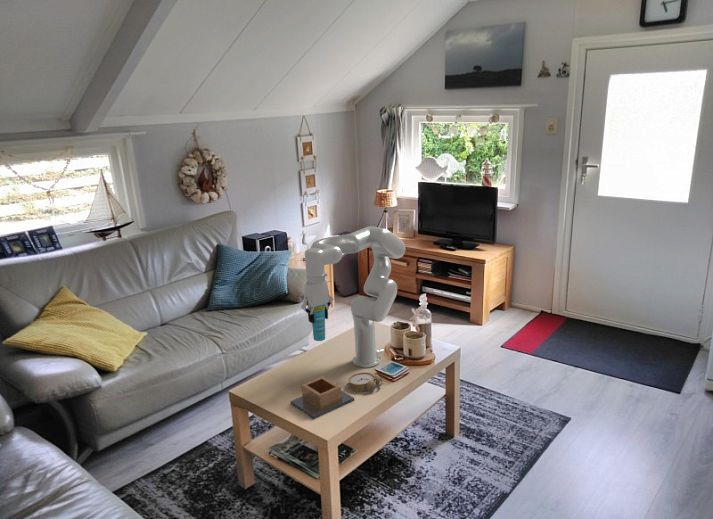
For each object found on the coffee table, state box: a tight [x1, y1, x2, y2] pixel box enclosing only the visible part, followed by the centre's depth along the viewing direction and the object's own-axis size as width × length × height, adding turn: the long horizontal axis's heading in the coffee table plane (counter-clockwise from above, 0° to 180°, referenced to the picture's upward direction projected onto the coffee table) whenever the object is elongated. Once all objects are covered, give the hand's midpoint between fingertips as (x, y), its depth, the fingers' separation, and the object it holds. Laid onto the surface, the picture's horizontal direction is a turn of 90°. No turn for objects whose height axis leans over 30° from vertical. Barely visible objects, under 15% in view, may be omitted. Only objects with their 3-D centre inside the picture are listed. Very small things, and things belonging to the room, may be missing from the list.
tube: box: [310, 304, 326, 342], centre depth 228 cm, size 7×5×19 cm, turn 122°
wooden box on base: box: [290, 376, 355, 420], centre depth 221 cm, size 20×16×7 cm
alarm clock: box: [346, 371, 384, 392], centre depth 233 cm, size 11×5×15 cm
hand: (318, 319), depth 228 cm, fingers closed on tube, 6 cm apart
